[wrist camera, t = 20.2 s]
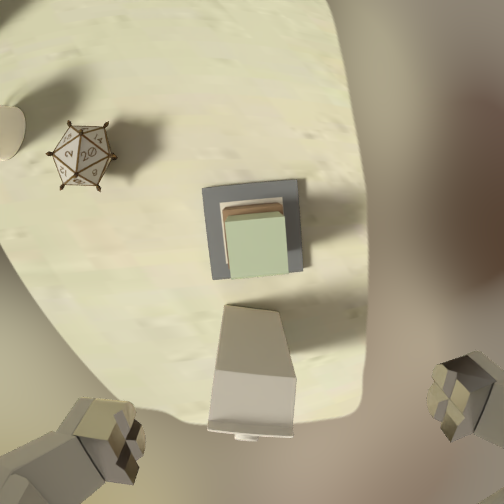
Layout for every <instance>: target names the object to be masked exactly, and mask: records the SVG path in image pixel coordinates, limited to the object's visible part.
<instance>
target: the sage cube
mask: <svg viewBox="0 0 504 504" xmlns="http://www.w3.org/2000/svg"><path fill="white" fill-rule="evenodd" d="M225 229H226V238H227V248H228V257H229V265H230V274H231V280H232V279H242V278H253V277H263V276H273V275H283V274H289V271H288V256H287V242H286V228H285V216H283V215H282V214H281V213H280V212H279V211H274V212H263V213H252V214H242V215H232V216H228V217H227V219H226V221H225Z"/></svg>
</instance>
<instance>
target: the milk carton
mask: <svg viewBox="0 0 504 504" xmlns="http://www.w3.org/2000/svg"><path fill="white" fill-rule="evenodd" d="M296 380H297V378H296V375H295V371H294V368H293V364H292V360H291V356H290V352H289V349H288V345H287V341H286V337H285V333H284V330H283V326H282V322H281V318H280V315H279V312H277V311H270V310H262V309H254V308H246V307H239V306H232V305H224V309H223V316H222V322H221V329H220V336H219V343H218V349H217V356H216V363H215V370H214V378H213V386H212V394H211V402H210V410H209V418H208V426H207V430H208V431H213V432H221V433H229V434H235V439H236V440H244V441H258V437H259V436H264V437H284V438H292V437H294V434H293V417H294V405H295V393H296Z"/></svg>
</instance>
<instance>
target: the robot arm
mask: <svg viewBox="0 0 504 504" xmlns="http://www.w3.org/2000/svg"><path fill="white" fill-rule="evenodd" d="M432 378H433V380H434V383H433V384H432V386H431V387H430V388H429V389H428V394H427V407H428V410H429V413H430V415H431V416H432V417H433V419H436V420H438V421H441V427H440V428H441V430H442V431H443V433H444V434H445V435H446V437H447V438H448V440H449V441H450V442H453V441H456V440H458V439H460V438H463V437H465V436H467V435H470V434H472V433H474V435H476V436H478V437H480V438H482V439H484V440H486V441H489V442H491V443H493V444H495V445H497V446H499V447H501V448H503V449H504V370H503V369H501V368H500V367H499V366H498V365H497V364H495V363H494V362H493V361H492V360H490V359H489V358H488V357H487V356H486V355H484V354H483V353H482V352H480V351H473V352H471V353H468V354H466V355H463V356H462V357H459V358H455V359H452V360H449V361H446V362H443V363H440V364H437V365H436V366H435V368H434V370H433V373H432ZM136 413H137V412H136V410H135V407H134V405H133V403H131V402H129V401H120V400H108V399H101V398H100V399H99V398H90V397H81V398H78V400H77V401H76V403H75V404H74V406H73V407H72V408H71V410H70V412H69V413H68V414H67V416H66V417H65V419H64V420H63V422H62V423H61V425H60V426H59V428H58V429H57V431H56V432H53V431H51V432H49V433H47V434H45V435H43V436H41V437H39V438H37V439H35V440H33V441H31V442H29V443H27V444H25V445H23V446H21V447H19V448H17V449H15V450H13V451H11V452H8V453H6V454H4V455H2V456H0V504H81V503H82V502H83V501H84V500H86V499H87V498H88V497H89V496H90V495H92V494H93V493H94V492H95V491H96V490H97V489H99V488H100V487H101V486H102V485H103V484H104V483H105V481H108V482H114V483H121V484H129V485H134V483H135V479H136V476H137V473H138V470H139V466H138V464H137V462H136V461H137V460H138V459H139V458H141V457H142V456H143V454H144V451H145V443H146V438H145V433H144V429H143V427H142V425H141V424H140V423H139V422H138V421H137V420H135V419H134V418H135V416H136ZM477 504H504V487H503V488H501V489H500V490H498V491H497V492H496V493H494V494H492V495H490V496H489V497H487V498H486V499H484V500H482V501H481V502H479V503H477Z"/></svg>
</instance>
